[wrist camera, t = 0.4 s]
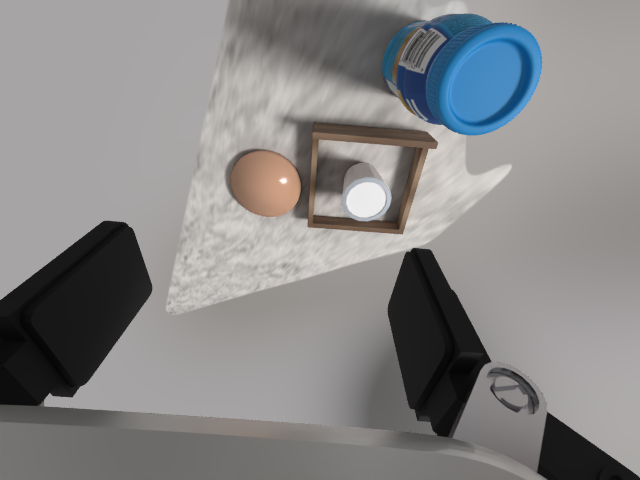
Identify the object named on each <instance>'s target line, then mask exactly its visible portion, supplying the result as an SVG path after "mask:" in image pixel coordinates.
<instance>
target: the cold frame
mask: <svg viewBox="0 0 640 480" xmlns="http://www.w3.org/2000/svg"><path fill="white" fill-rule="evenodd" d="M312 139H313V143H312V160H311V177H310V194H309V212H308V227H313V228H326V229H340V230H353V231H366V232H379V233H393V234H403V231H404V228H405V225H406V221H407V218H408V215H409V212H410V208H411V205H412V202H413V198H414V195H415V192H416V189H417V185H418V182H419V179H420V175H421V172H422V169H423V166H424V162H425V159H426V156H427V152H428V149H429V148H430V149H436V148H437V145H438V142H437V141H436V140H435V139H434V138H433V137H432V136H431V135H430V134H429V133H428V132H422V131H411V130H399V129H387V128H375V127H364V126H352V125H340V124H328V123H317V122H314V127H313V134H312ZM319 139H322V140H334V141H346V142H358V143H370V144H382V145H394V146H406V147H417V149H416V152H415V156H414V159H413V163H412V167H411V170H410V174H409V177H408V181H407V184H406V188H405V192H404V195H403V199H402V202H401V206H400V210H399V213H398V217H397V220H396V222H391V221H378V220H371V221H357V220H355V219H352V218H339V217H326V216H313V213H314V199H315V185H316V171H317V156H318V142H319Z"/></svg>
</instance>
